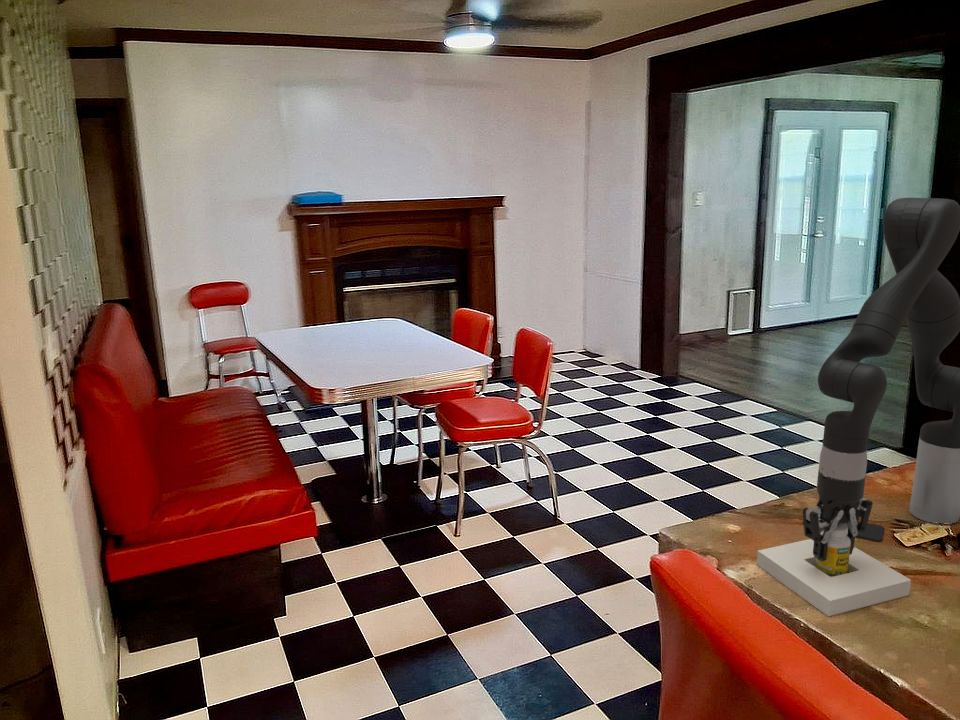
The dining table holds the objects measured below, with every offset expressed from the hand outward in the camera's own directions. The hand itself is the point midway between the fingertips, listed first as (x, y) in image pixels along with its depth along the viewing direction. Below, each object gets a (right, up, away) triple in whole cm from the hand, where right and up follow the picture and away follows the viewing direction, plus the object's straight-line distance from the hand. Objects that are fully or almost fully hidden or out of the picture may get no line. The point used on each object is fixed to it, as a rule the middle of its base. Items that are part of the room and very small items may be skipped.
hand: (832, 555), depth 132 cm
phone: (+12, 0, +21) cm, 24 cm away
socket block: (0, -5, +1) cm, 5 cm away
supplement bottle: (0, -4, +1) cm, 4 cm away
